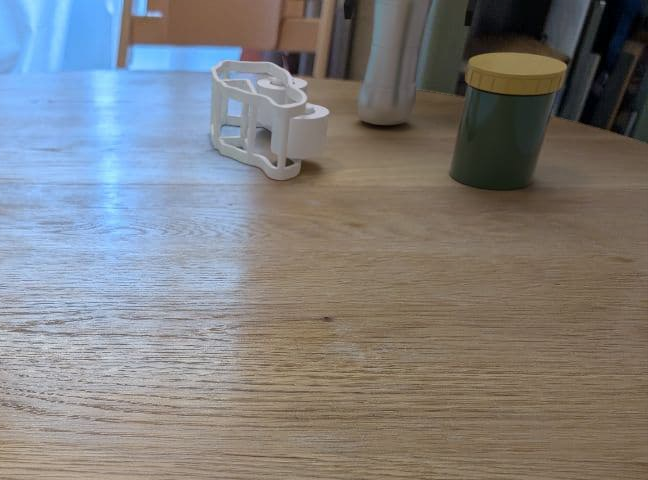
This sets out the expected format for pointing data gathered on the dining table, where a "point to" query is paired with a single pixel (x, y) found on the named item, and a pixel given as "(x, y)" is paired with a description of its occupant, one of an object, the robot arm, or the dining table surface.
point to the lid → (515, 73)
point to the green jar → (500, 138)
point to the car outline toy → (267, 117)
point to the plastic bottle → (393, 61)
